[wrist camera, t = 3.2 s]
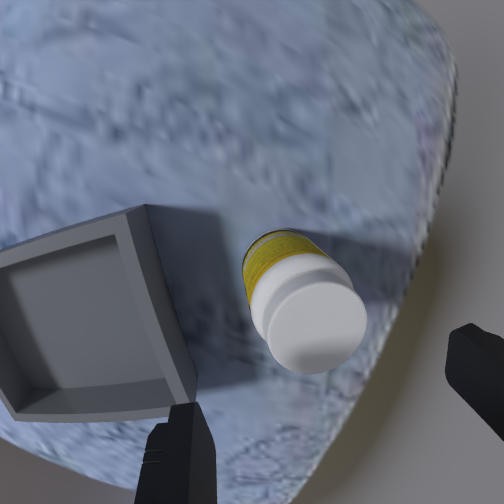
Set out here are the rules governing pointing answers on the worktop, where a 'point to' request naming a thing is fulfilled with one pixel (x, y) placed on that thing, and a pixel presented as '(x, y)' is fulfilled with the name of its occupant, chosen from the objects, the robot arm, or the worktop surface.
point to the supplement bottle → (302, 302)
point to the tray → (91, 326)
